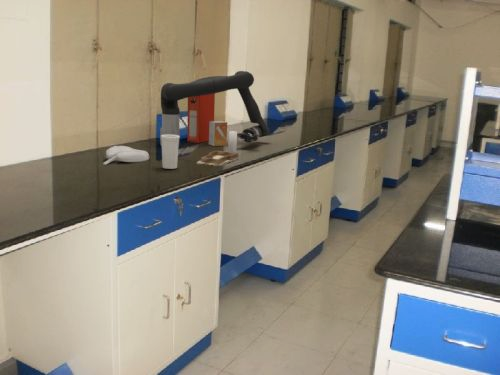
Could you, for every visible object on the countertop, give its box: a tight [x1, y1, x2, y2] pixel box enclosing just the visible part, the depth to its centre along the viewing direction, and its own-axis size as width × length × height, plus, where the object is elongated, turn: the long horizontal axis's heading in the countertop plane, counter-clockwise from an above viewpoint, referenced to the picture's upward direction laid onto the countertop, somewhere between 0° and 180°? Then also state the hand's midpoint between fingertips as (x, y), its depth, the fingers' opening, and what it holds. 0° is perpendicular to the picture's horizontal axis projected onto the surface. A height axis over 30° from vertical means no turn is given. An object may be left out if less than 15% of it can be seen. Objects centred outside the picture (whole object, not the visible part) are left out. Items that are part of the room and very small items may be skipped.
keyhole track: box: [196, 150, 239, 167], centre depth 260 cm, size 12×22×3 cm, turn 161°
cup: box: [161, 134, 180, 170], centre depth 239 cm, size 8×8×14 cm
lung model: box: [102, 145, 150, 166], centre depth 251 cm, size 7×17×25 cm
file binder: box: [186, 93, 216, 144], centre depth 314 cm, size 8×17×32 cm, turn 156°
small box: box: [208, 120, 228, 147], centre depth 304 cm, size 8×6×13 cm
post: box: [227, 130, 238, 153], centre depth 277 cm, size 4×4×12 cm
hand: (240, 138), depth 287 cm, fingers open, 8 cm apart
